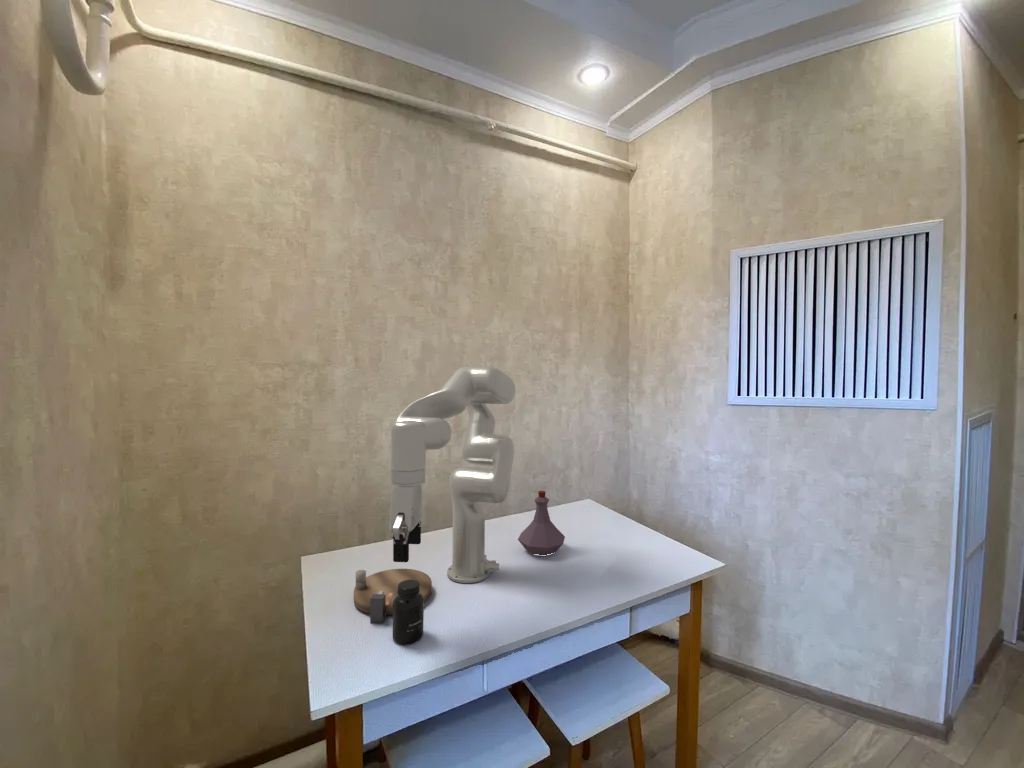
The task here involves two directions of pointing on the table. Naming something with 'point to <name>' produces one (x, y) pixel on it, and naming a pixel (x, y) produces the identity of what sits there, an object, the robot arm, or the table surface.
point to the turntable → (387, 586)
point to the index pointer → (378, 608)
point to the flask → (541, 531)
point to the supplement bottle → (408, 613)
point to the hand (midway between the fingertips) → (407, 552)
